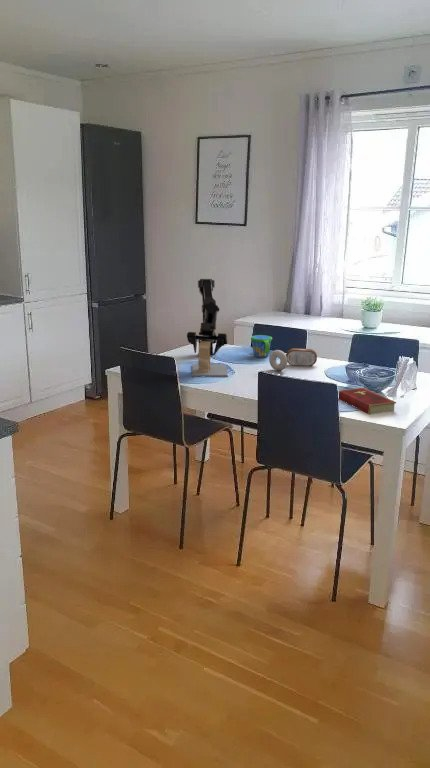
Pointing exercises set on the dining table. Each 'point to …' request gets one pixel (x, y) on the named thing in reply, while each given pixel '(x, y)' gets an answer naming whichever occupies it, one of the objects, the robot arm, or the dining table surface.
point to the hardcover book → (366, 400)
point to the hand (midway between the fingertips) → (204, 353)
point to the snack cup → (261, 345)
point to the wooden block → (204, 356)
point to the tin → (301, 357)
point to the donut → (274, 363)
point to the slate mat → (210, 371)
